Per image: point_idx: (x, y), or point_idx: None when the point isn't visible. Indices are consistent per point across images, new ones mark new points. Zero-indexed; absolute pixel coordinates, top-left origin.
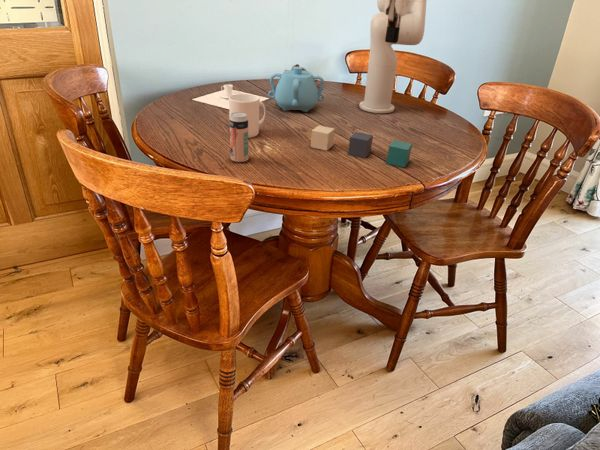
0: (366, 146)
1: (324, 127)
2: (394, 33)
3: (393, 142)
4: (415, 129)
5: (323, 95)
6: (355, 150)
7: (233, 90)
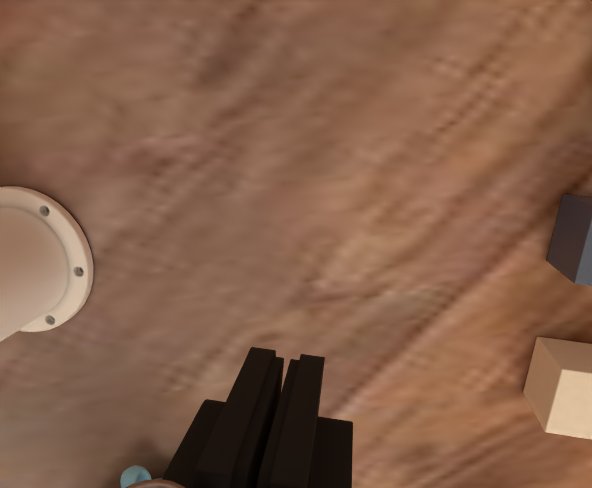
0: None
1: (565, 407)
2: (334, 466)
3: None
4: (203, 57)
5: (132, 480)
6: None
7: None
